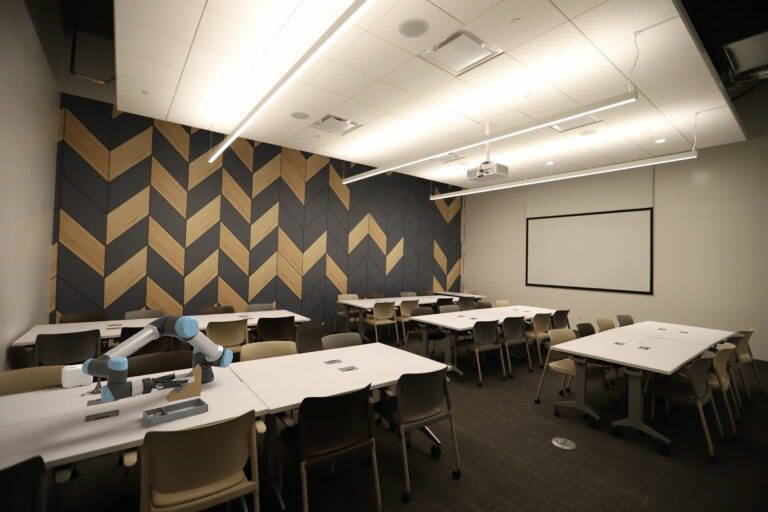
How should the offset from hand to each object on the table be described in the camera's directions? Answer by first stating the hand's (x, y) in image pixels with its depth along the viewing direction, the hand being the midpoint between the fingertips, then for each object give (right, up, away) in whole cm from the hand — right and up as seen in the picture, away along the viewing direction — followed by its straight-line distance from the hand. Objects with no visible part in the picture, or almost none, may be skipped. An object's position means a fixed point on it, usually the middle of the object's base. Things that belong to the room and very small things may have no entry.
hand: (191, 376), depth 191 cm
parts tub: (-5, -18, -5) cm, 19 cm away
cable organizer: (-89, -16, +32) cm, 96 cm away
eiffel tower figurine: (-67, -17, +22) cm, 73 cm away
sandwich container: (-3, -10, -2) cm, 10 cm away
